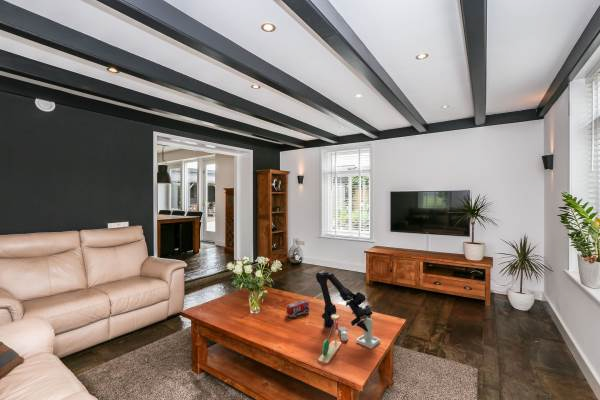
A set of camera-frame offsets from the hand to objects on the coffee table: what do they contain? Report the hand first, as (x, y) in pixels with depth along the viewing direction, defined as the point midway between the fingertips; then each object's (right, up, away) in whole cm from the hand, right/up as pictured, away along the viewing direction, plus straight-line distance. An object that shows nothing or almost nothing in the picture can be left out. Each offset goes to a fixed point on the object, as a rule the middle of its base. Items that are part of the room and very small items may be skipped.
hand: (369, 330), depth 185 cm
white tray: (-1, -8, +1) cm, 9 cm away
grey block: (-16, -8, +12) cm, 22 cm away
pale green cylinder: (-1, -7, +1) cm, 7 cm away
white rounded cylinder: (-16, -9, +5) cm, 19 cm away
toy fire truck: (-47, -8, +44) cm, 65 cm away
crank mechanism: (-27, -9, -11) cm, 30 cm away
